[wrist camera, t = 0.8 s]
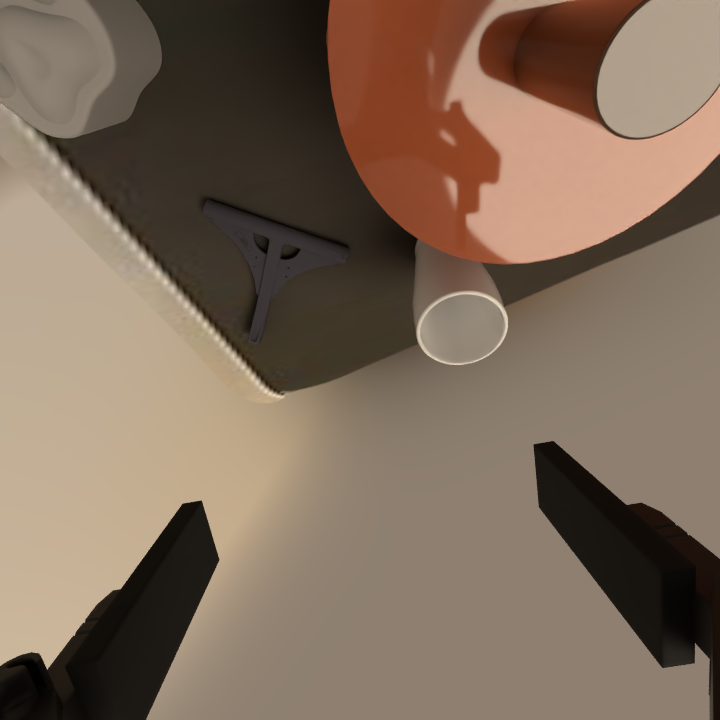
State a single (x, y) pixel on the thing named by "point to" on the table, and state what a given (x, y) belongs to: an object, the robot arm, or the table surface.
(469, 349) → the drinking glass
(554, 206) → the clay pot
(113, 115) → the lumpy-topped squat cylinder
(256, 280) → the bracket
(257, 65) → the table surface
